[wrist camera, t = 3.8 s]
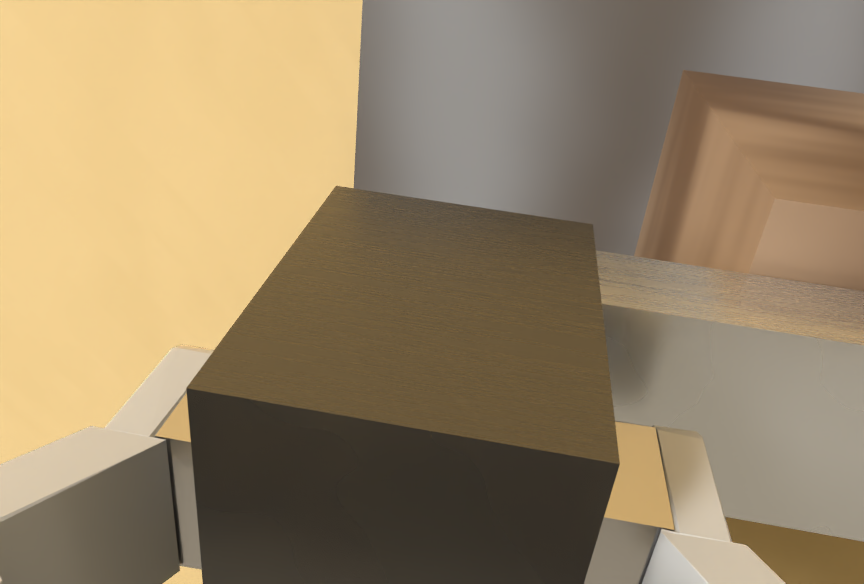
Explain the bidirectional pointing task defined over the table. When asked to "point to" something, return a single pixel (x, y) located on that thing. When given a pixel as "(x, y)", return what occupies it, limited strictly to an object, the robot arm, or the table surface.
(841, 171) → the shaft stand
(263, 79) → the table surface
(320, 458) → the steel shaft
